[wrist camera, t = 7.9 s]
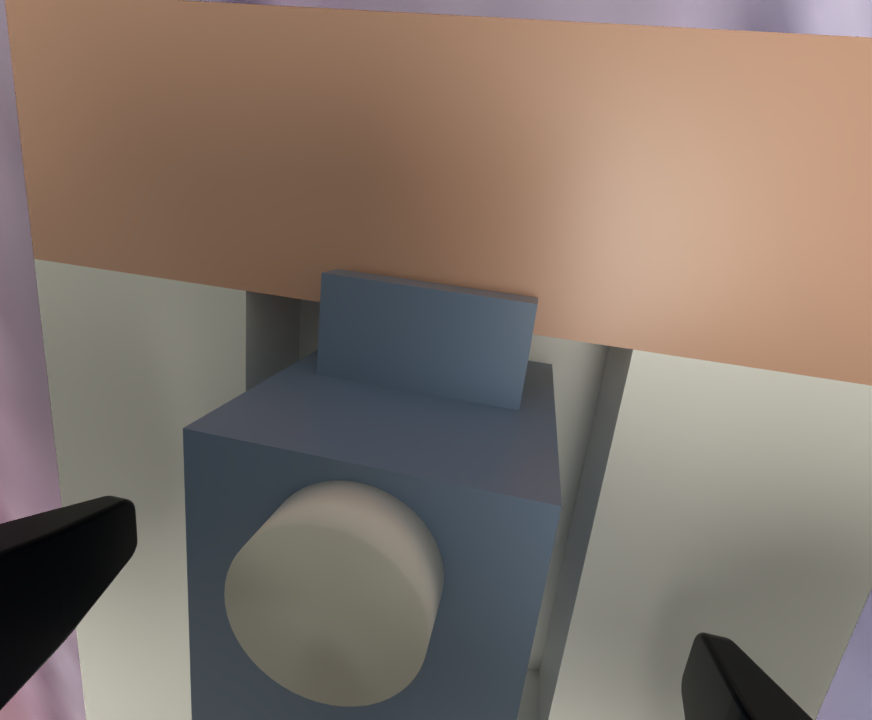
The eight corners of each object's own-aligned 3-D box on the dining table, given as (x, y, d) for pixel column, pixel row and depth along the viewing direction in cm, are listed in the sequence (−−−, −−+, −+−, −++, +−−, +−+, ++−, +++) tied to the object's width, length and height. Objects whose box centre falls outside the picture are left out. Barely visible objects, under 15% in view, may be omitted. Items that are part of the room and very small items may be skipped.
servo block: (493, 675, 12) (451, 1077, 6) (329, 632, 12) (159, 962, 7) (567, 284, 9) (603, 382, 4) (354, 255, 10) (114, 301, 4)
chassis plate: (672, 801, 13) (710, 967, 10) (175, 661, 15) (91, 763, 12) (911, 107, 8) (1101, 50, 5) (148, 52, 11) (3, -10, 8)
